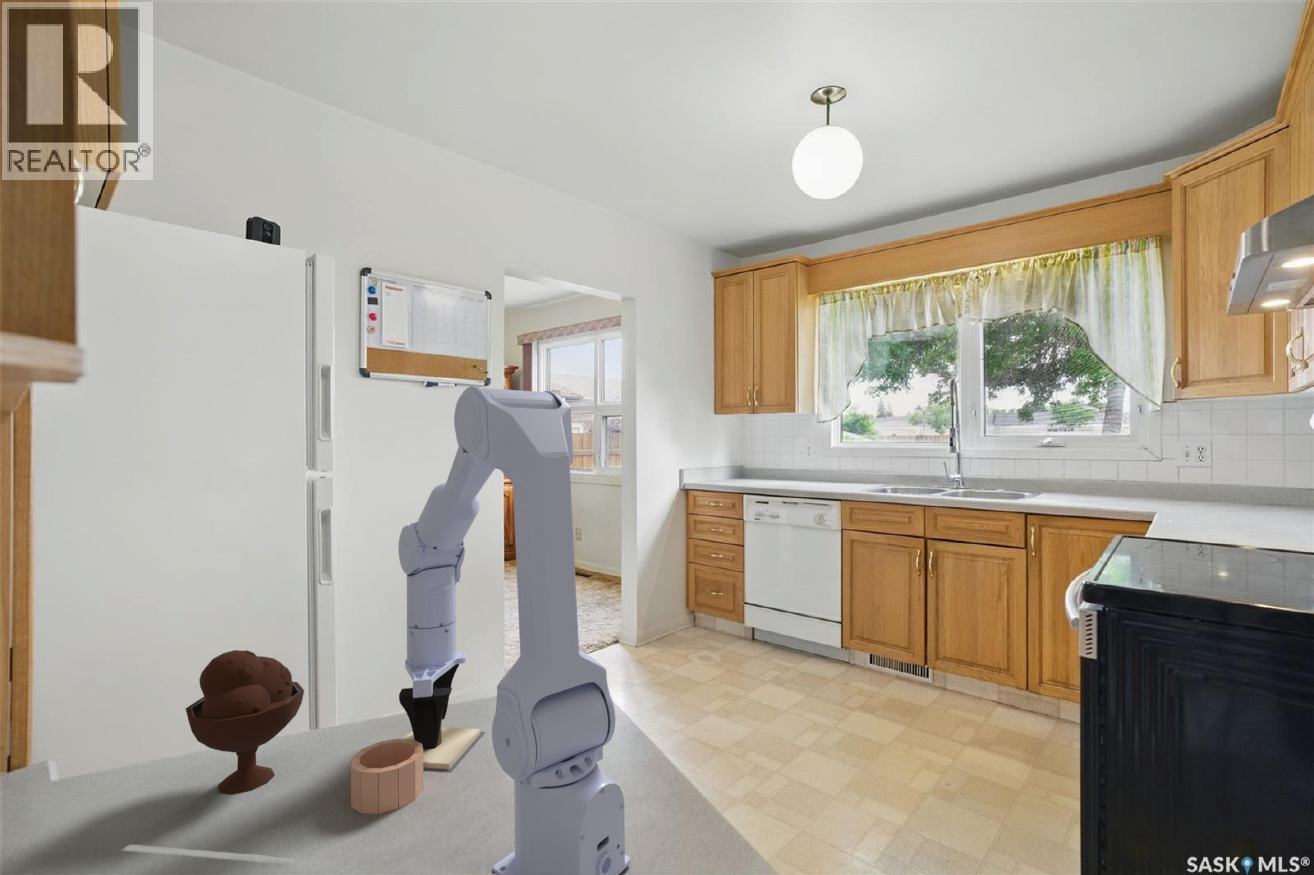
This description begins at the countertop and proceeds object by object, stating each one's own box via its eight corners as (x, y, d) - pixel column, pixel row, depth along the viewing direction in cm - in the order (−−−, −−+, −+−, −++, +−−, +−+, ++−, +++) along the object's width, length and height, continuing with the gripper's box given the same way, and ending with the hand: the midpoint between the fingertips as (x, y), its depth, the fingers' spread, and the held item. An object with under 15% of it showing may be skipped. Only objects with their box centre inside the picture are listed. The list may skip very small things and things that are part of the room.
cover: (480, 733, 78) (480, 704, 78) (449, 769, 69) (449, 735, 70) (417, 730, 79) (417, 701, 79) (379, 765, 71) (379, 732, 71)
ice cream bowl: (247, 818, 61) (248, 669, 61) (158, 806, 63) (158, 662, 64) (325, 764, 72) (325, 637, 72) (245, 755, 74) (246, 632, 74)
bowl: (436, 792, 66) (436, 750, 66) (374, 825, 60) (374, 779, 60) (399, 772, 70) (399, 733, 70) (338, 802, 64) (338, 759, 64)
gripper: (459, 637, 68) (459, 758, 68) (470, 604, 82) (471, 705, 82) (392, 642, 67) (392, 766, 67) (415, 608, 81) (415, 710, 81)
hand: (432, 733), depth 74 cm, fingers open, 7 cm apart
